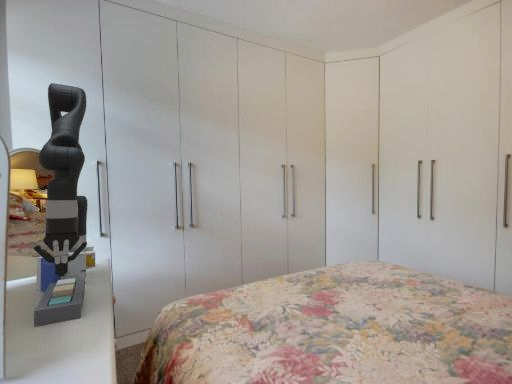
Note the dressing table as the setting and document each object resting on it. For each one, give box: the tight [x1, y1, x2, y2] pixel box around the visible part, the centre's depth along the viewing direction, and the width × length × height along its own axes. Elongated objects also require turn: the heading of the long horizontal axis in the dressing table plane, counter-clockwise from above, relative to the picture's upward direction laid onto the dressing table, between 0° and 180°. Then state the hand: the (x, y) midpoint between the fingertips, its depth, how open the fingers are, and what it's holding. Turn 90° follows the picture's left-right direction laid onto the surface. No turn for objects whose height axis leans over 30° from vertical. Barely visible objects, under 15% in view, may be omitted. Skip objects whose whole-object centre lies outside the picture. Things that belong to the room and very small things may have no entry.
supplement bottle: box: [86, 244, 96, 270], centre depth 125 cm, size 5×5×10 cm
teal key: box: [49, 296, 72, 306], centre depth 76 cm, size 5×5×4 cm
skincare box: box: [66, 251, 87, 280], centre depth 101 cm, size 6×4×12 cm
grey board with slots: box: [33, 278, 86, 327], centre depth 82 cm, size 24×10×4 cm, turn 30°
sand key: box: [53, 284, 74, 297], centre depth 82 cm, size 5×5×4 cm
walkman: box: [35, 256, 61, 293], centre depth 95 cm, size 8×3×12 cm, turn 75°
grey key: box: [56, 278, 75, 287], centre depth 88 cm, size 5×5×4 cm
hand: (61, 275), depth 78 cm, fingers closed
